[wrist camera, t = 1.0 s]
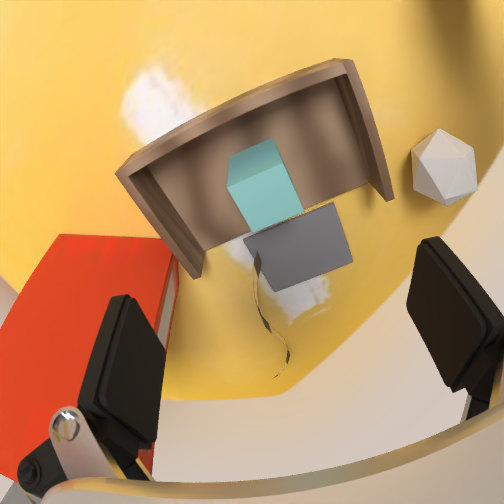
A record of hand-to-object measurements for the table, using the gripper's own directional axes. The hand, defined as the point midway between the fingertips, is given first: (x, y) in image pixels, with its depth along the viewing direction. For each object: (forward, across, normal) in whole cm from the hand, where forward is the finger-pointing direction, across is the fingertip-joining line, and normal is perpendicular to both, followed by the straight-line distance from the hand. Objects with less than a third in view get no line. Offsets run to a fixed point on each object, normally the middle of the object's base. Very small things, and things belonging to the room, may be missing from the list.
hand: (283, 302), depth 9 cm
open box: (+25, -1, +4) cm, 26 cm away
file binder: (+26, +20, +13) cm, 36 cm away
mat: (+25, -4, +17) cm, 31 cm away
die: (+25, -22, +6) cm, 34 cm away
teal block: (+25, -1, +4) cm, 25 cm away
